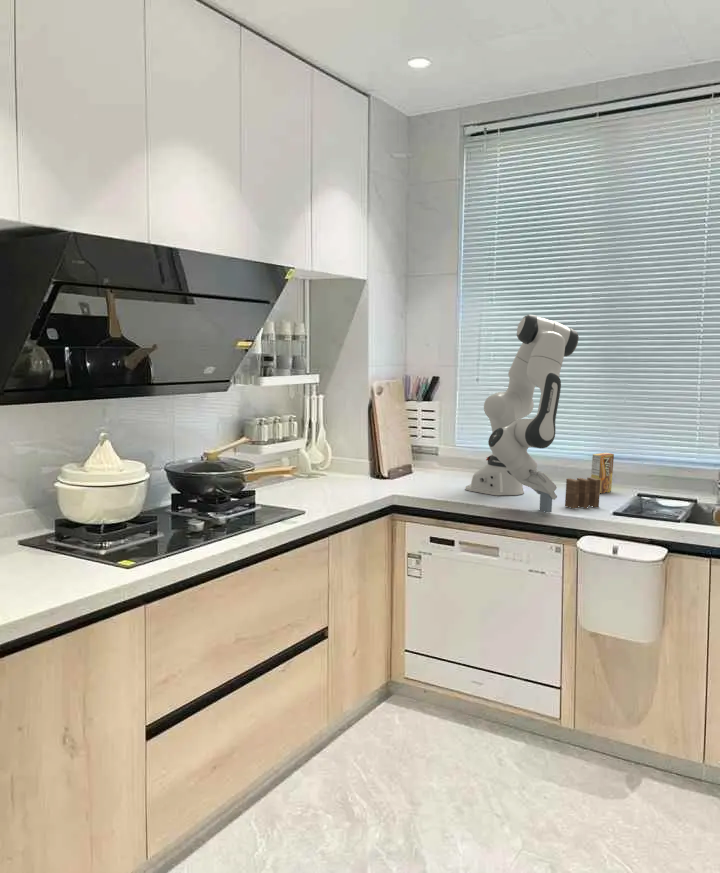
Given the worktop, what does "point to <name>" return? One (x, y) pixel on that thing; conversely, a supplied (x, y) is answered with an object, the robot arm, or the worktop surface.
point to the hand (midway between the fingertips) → (547, 495)
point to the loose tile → (545, 502)
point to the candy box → (603, 470)
